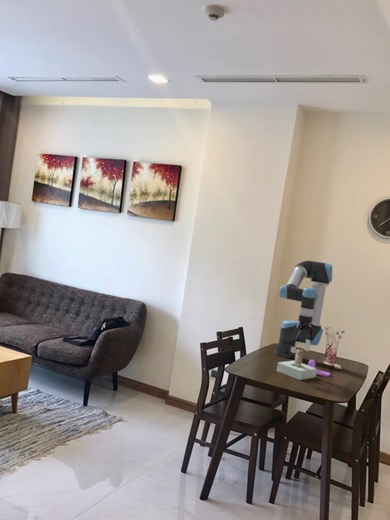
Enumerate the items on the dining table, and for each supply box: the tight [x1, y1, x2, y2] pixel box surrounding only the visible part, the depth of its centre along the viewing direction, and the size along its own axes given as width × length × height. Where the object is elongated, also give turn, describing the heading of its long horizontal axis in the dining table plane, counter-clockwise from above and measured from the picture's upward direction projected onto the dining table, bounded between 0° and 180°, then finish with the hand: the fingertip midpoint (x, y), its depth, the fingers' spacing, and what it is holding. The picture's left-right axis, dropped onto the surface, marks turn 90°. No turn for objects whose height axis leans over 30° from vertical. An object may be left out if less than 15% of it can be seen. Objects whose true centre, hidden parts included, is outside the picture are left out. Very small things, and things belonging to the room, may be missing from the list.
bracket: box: [307, 359, 331, 377], centre depth 284 cm, size 13×6×7 cm, turn 78°
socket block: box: [276, 360, 318, 381], centre depth 275 cm, size 16×16×5 cm
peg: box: [294, 348, 305, 368], centre depth 275 cm, size 4×4×14 cm
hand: (299, 351), depth 275 cm, fingers open, 13 cm apart
